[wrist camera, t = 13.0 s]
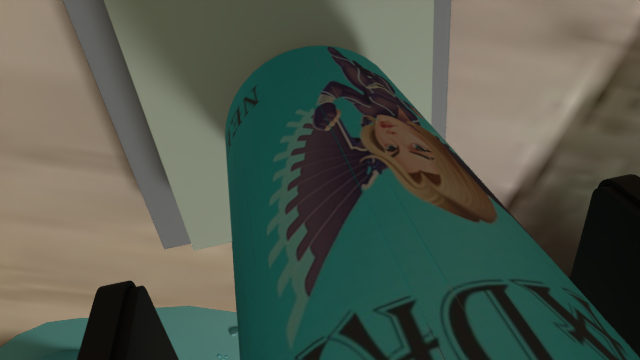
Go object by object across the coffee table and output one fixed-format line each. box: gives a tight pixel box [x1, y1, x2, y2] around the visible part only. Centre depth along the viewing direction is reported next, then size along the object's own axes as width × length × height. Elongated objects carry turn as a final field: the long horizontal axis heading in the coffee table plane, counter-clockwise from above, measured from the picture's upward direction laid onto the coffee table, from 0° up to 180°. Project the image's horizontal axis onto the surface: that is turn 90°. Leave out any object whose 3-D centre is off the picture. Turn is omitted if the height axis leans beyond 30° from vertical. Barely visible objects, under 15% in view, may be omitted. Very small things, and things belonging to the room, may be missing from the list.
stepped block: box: [63, 0, 451, 250], centre depth 19 cm, size 14×14×6 cm
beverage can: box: [225, 45, 640, 360], centre depth 10 cm, size 6×6×15 cm
